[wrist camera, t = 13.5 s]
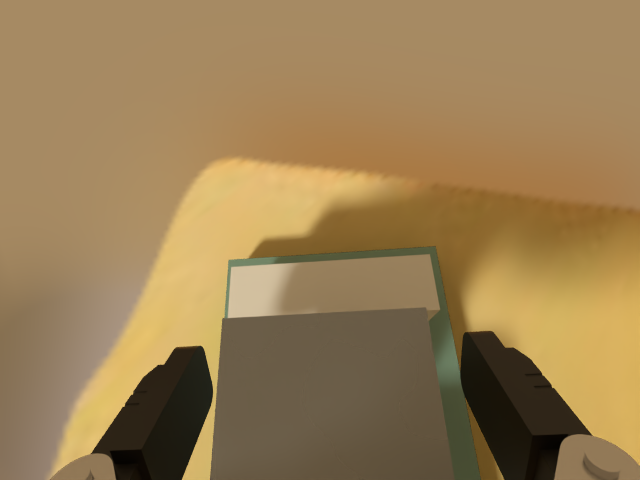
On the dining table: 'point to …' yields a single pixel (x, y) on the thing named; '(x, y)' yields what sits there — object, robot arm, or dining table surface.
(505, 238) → the dining table surface
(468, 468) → the vise
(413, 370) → the steel bar
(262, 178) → the dining table surface
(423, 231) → the dining table surface
